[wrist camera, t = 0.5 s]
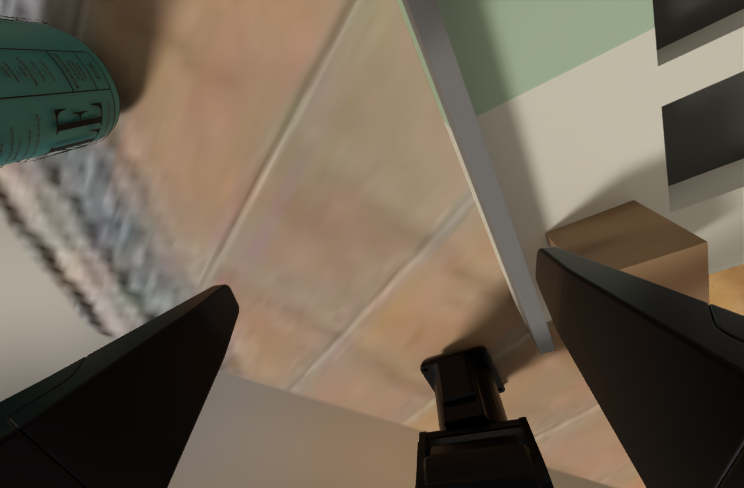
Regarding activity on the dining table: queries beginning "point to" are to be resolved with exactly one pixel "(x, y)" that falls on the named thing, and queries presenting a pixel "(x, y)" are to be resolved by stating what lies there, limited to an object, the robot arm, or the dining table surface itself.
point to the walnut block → (640, 247)
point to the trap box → (589, 118)
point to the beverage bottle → (50, 92)
